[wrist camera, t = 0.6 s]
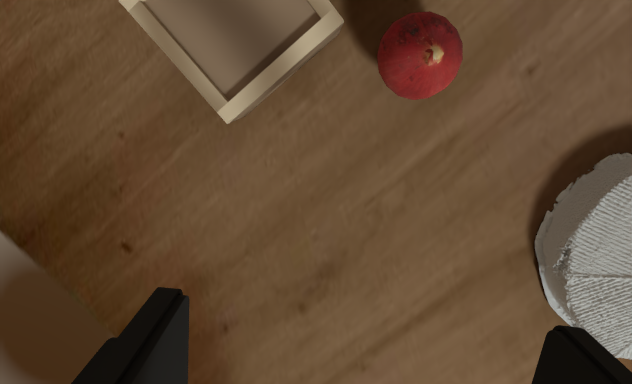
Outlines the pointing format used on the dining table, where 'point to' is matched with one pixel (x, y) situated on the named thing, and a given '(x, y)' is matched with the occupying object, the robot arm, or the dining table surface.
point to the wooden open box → (237, 43)
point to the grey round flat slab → (592, 254)
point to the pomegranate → (419, 55)
